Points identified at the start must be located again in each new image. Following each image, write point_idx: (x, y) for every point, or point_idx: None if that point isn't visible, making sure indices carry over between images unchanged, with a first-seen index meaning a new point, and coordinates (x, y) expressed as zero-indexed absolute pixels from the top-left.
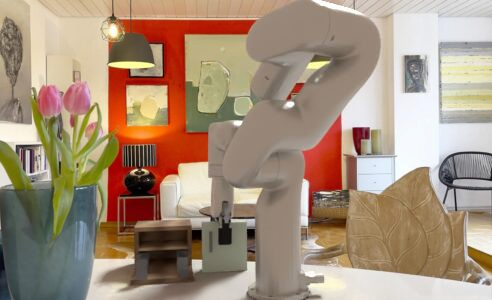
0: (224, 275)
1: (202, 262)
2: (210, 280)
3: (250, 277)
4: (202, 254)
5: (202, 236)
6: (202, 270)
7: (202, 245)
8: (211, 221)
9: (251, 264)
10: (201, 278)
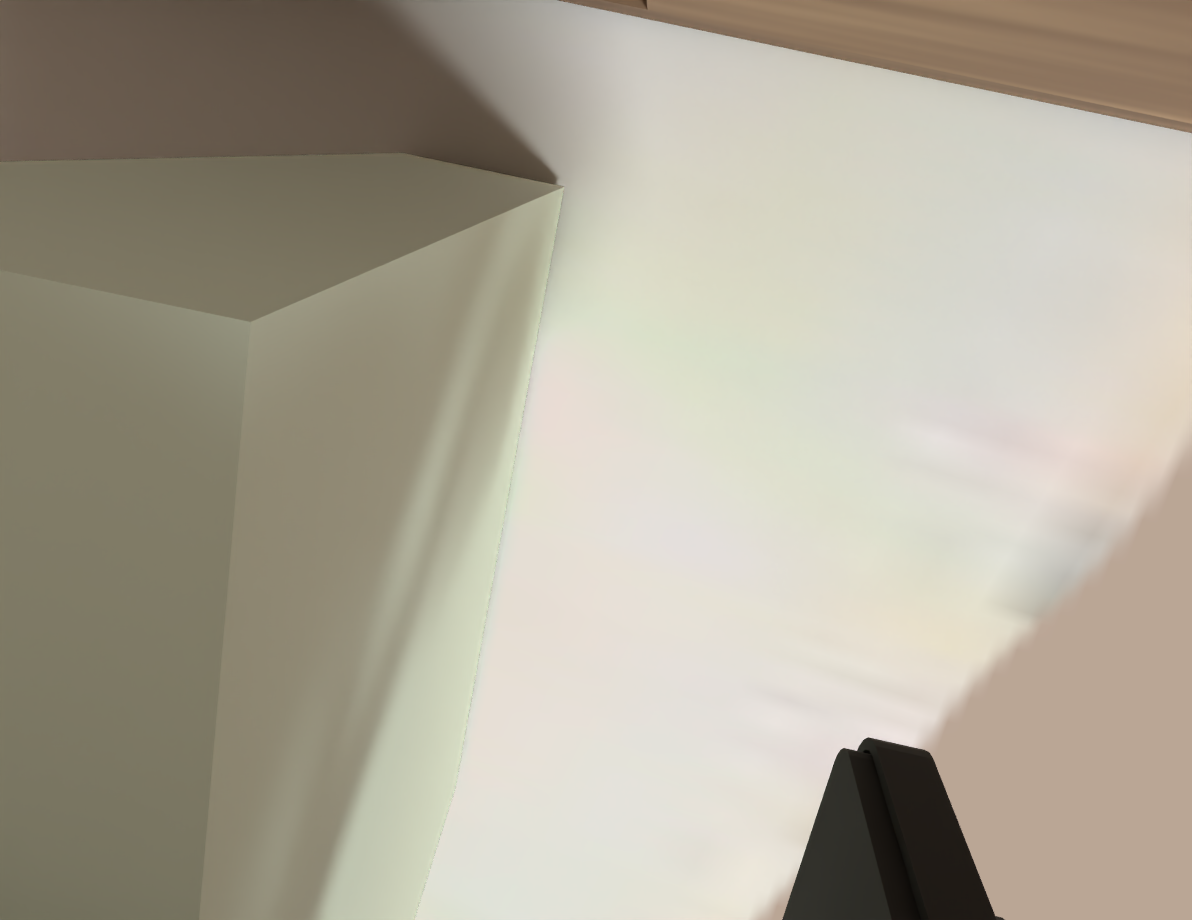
0: None
1: (437, 170)
2: None
3: None
4: (369, 168)
5: (76, 162)
6: (487, 171)
7: (259, 165)
8: (191, 890)
9: (594, 903)
10: (146, 57)
